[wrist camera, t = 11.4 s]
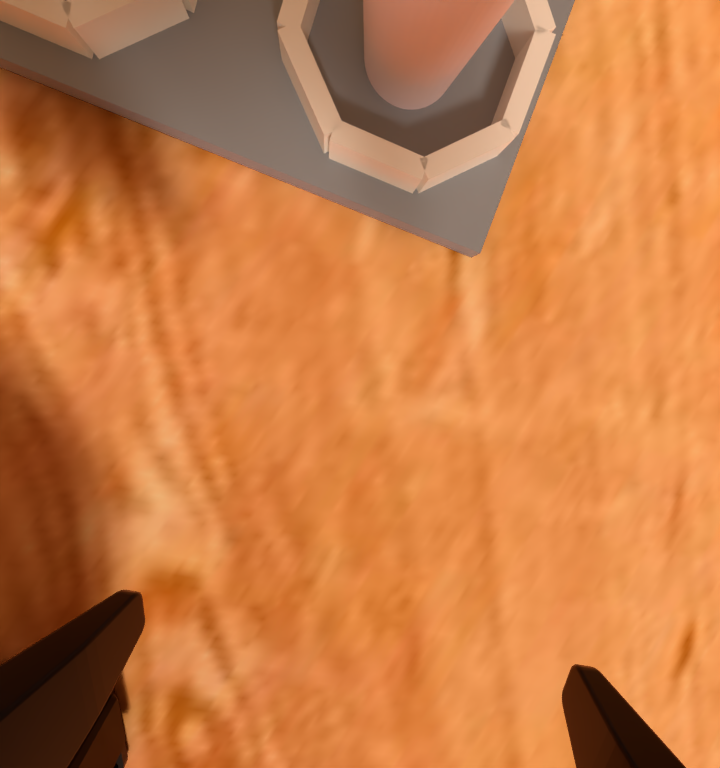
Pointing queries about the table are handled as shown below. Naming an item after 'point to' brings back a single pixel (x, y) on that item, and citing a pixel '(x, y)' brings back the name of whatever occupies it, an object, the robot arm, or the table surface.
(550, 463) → the table surface
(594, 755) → the robot arm
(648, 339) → the table surface
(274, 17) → the board
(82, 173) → the table surface
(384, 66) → the smoothie
